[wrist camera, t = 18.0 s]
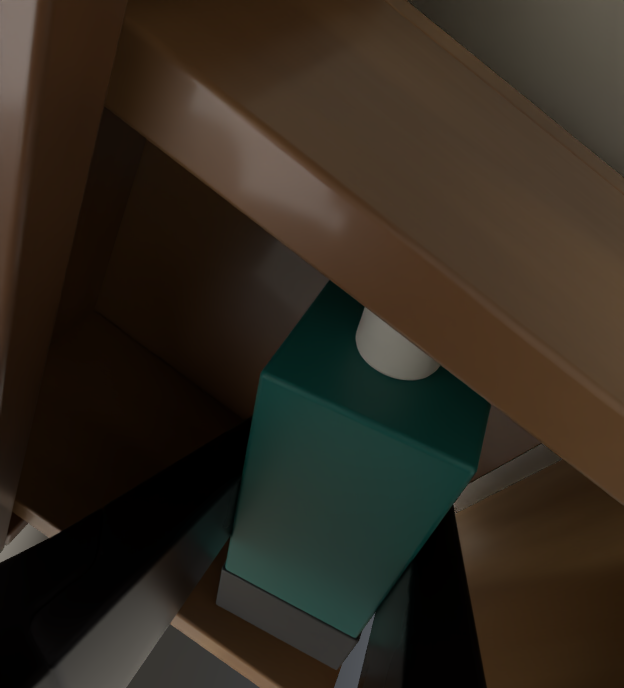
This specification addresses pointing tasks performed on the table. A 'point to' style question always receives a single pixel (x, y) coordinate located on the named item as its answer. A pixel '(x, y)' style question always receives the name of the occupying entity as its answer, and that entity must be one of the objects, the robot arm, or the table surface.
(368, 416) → the teal square bottle
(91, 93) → the cabinet
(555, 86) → the table surface
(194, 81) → the drawer
